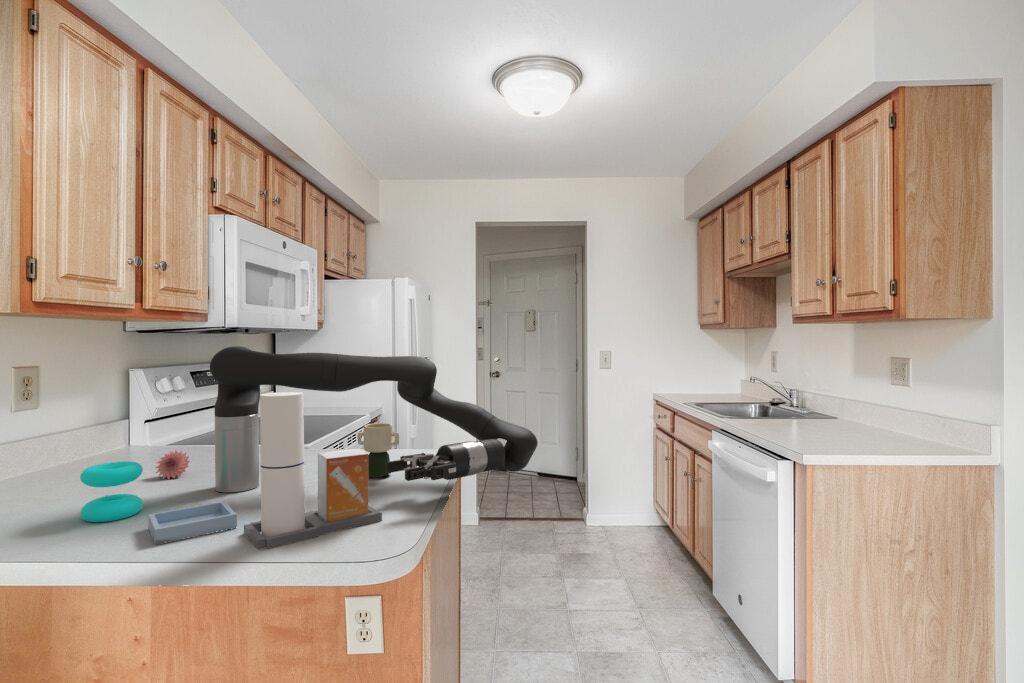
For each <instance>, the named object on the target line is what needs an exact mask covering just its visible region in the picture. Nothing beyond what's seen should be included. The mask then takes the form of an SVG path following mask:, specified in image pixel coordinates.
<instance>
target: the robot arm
mask: <svg viewBox="0 0 1024 683" xmlns="http://www.w3.org/2000/svg"><path fill="white" fill-rule="evenodd" d="M209 370H210V374H211V376H212V377H213V379H215V380H216V381H217V397H216V402H215V404H214V465H215V467H214V469H215V471H214V474H215V476H214V479H215V480H214V481H215V483H214V484H215V485H214V488H215V492H218V493H219V492H220V493H239V492H245V491H249V490H252V489H256V488H257V487H259V485H260V442H259V441H260V430H259V429H260V425H259V423H260V422H259V421H260V418H259V417H260V416H259V408H260V395H261V386H280V387H286V388H293V389H301V390H308V391H310V390H311V391H318V392H335V393H338V392H347V391H351V390H353V389H354V390H355V389H358V388H360V387H363V386H365V385H368V384H371V383H376V382H397V384H396V386H397V387H396V389H397V392H398V395H399V397H400V398H402V399H403V400H404V401H405V402H407V403H409V404H411V405H413V406H415V407H418V408H420V409H422V410H424V411H427V412H429V413H430V414H432V415H435V416H437V417H439V418H441V419H443V420H445V421H448V422H449V423H452V424H454V425H455V426H456V427H458V428H460V429H461V430H463V431H465V432H466V433H468V434H469V435H470V436H472V437H473V438H475V439H476V440H474V441H472V440H471V441H462V442H456V443H450V444H443V445H440V447H439V448H438V450H437V452H436V454H435V455H434V454H433V453H424V452H422V453H418V454H417V453H415V454H408V455H402V456H400V459H398V460H392V461H391V460H390V462H387V463H386V472H388V473H390V474H392V473H397V472H402V471H404V480H405V481H407V482H410V481H415V480H420V479H425V480H429V479H430V481H438V480H441V479H444V480H446V481H449V480H455V479H460V478H465V477H470V476H474V475H477V474H480V473H483V472H489V471H493V470H496V471H497V470H498V471H503V472H504V471H505V472H514V473H515V472H519V471H522V470H523V469H525V468H526V467H527V466H528V464H529V462H530V460H531V458H532V456H533V454H535V451H536V449H537V447H538V442H539V441H538V438H537V437H536V435H535V434H534V432H532V431H531V430H530V429H528V428H526V427H524V426H520V425H518V424H514V423H511V422H508V421H505V420H503V419H499V418H498V417H496V416H495V415H494V414H492V413H491V412H489V410H486V409H484V408H483V407H481V406H479V405H477V404H474V403H472V402H466V401H459V400H454V399H451V398H449V397H447V396H445V395H443V394H442V393H441V392H440V391H438V390H437V389H435V388H434V387H435V383H436V378H437V375H438V374H437V373H438V372H437V371H438V370H437V366H436V364H435V363H434V362H433V361H432V360H431V359H428V358H426V357H422V356H414V355H413V356H411V355H406V356H405V355H403V356H400V355H398V356H396V355H395V356H372V355H371V356H370V355H369V356H368V355H349V354H341V353H329V352H298V353H297V352H296V353H269V352H264V351H257V350H252V349H250V348H248V347H245V346H237V345H235V346H228V347H224V348H222V349H221V350H219V351H218V352H216V353H215V354H214V355H213V357H212V358H211V360H210V363H209ZM500 440H504V441H506V443H505V444H504V445H503V443H502V441H500ZM408 462H409V463H408Z"/></svg>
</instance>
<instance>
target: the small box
mask: <svg viewBox="0 0 1024 683" xmlns="http://www.w3.org/2000/svg"><path fill="white" fill-rule="evenodd" d="M368 455H369V452H367V451H365V450H362V449H361V448H359V447H358V448H352V449H341V450H340V449H339V450H333V451H326V452H318V453H317V510H318V517H319V518H321V519H322V520H324V521H325V522H326V523H327V522H332V521H336V520H341V519H345V518H350V517H354V516H359V515H364V514H368V505H369V476H368Z"/></svg>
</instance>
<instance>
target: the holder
mask: <svg viewBox="0 0 1024 683" xmlns="http://www.w3.org/2000/svg"><path fill="white" fill-rule="evenodd" d="M381 521H383V512H381V511H380V510H378V509H376V508H374V507H373V506H371V505H369V504H368V514H364V515H359V516H354V517H350V518H345V519H341V520H336V521H332V522H327V523H326V522H325V521H324V520H322V519H321V518H319V517H318V509H317V510H312V511H308V512H307V511H306V512H305V529H302V530H297V531H293V532H288V533H284V534H279V535H275V536H270V537H266V538H265V537H264V536H263V535H262V534H261V520H258V521H254V522H249V524H244V525H243V535H244V536H247V537H248V538H247V537H246V538H247V539H248V540H249V541H250V542H251V543H252V545H253V546H254V547H255V548H256V549H257V550H263V549H266V550H267V549H271V548H277V547H279V546H280V547H281V546H284V545H285V546H286V545H289V544H293V542H294V543H297V541H298V542H301V540H302V541H305V540H310V538H311V539H314V537H315V538H318V536H322V535H326V533H327V534H329V533H333V531H334V532H339V531H342V529H343V530H347V529H350V527H352V528H355V526H356V527H359V525H360V526H363V525H368V523H369V524H372V522H373V523H377V522H381ZM338 530H339V531H338ZM321 534H322V535H321Z"/></svg>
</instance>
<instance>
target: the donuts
mask: <svg viewBox="0 0 1024 683" xmlns="http://www.w3.org/2000/svg"><path fill="white" fill-rule="evenodd" d="M143 472H144V471H143V466H142V465H141V464H140V463H139V462H137V461H114V462H105V463H100V464H95V465H92V466H88V467H86V468H85V469H83V470H82V472H81V473H80V476H79V478H80V481H81V482H82V484H84V485H85V486H87V487H88V486H89V487H93V488H110V487H117V486H122V485H126V484H129V483H131V482H135V480H137V479H138V478H139V477H141V475H142V474H143ZM143 507H144V501H143V500H142V498H141V497H140V496H138V495H134V494H130V493H118V494H110V495H104V496H101V497H98V498H95V499H92V500H90V501H89V502H87V503H86V504H85V505H84V506H83V507H82V508H81V509H80V517H81V518H82V519H83V520H84V521H86V522H89V523H107V521H108V522H114V521H118V520H122V519H123V520H124V519H127V518H130V517H133V516H135V515H136V514H138V513H139V512H140V511H141V510H143Z"/></svg>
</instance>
